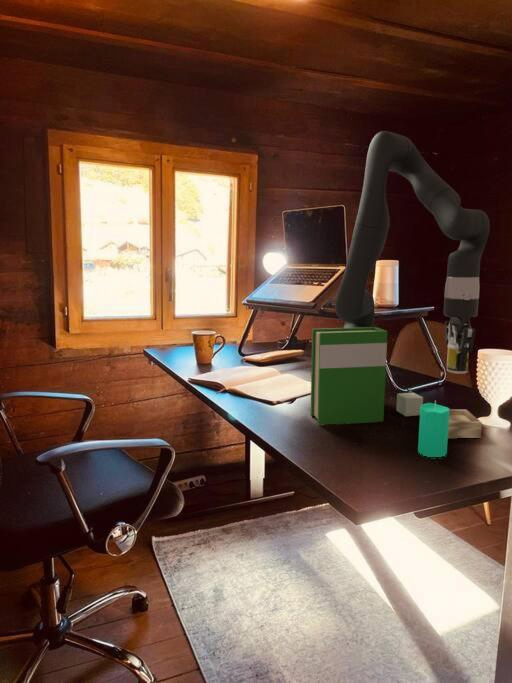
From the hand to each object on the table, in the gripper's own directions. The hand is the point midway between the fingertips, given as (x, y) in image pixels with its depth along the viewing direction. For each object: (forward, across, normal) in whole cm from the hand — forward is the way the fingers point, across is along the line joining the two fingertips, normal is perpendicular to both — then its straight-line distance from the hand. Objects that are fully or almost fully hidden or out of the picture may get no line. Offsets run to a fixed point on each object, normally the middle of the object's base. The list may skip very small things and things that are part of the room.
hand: (456, 366), depth 119 cm
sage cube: (+17, -14, -7) cm, 23 cm away
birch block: (+16, 0, 0) cm, 16 cm away
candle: (+17, +14, -9) cm, 24 cm away
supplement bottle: (+2, 0, 0) cm, 2 cm away
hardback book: (+17, -8, -25) cm, 31 cm away
